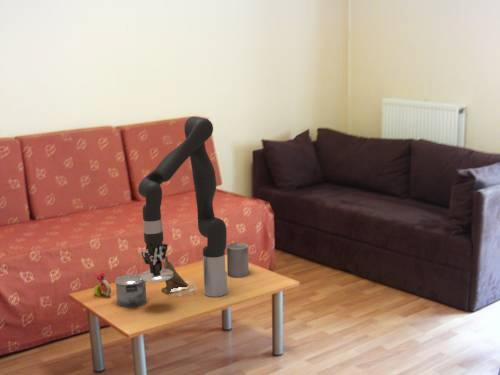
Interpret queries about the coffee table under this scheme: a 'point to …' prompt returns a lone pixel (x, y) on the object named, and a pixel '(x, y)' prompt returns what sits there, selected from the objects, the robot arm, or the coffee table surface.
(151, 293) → the coffee table surface
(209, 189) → the robot arm
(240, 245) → the pillar candle
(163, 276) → the cooker lid
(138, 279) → the cooker pot
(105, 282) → the bird rattle
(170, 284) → the worn brown figurine
